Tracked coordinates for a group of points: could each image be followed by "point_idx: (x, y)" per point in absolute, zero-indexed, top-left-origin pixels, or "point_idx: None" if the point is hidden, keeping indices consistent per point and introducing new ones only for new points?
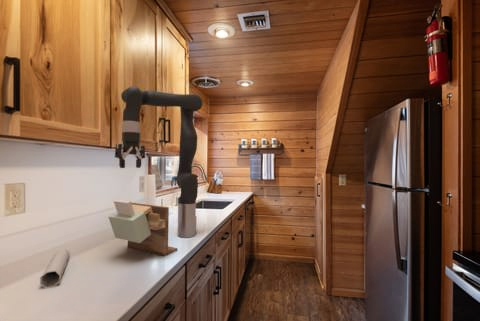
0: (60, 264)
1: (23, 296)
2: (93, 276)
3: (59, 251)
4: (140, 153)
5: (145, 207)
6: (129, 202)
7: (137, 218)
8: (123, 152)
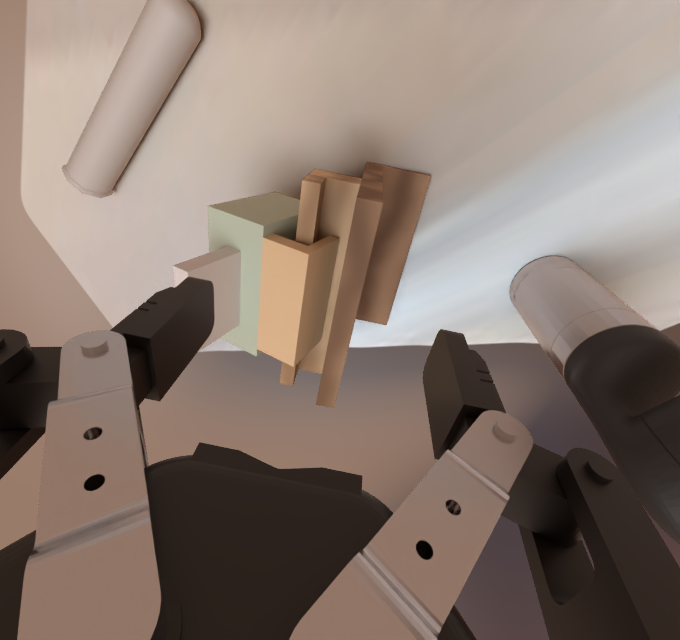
0: (112, 150)
1: (52, 163)
2: (178, 228)
3: (147, 29)
4: (605, 568)
5: (286, 346)
6: None
7: (229, 340)
8: (104, 449)
